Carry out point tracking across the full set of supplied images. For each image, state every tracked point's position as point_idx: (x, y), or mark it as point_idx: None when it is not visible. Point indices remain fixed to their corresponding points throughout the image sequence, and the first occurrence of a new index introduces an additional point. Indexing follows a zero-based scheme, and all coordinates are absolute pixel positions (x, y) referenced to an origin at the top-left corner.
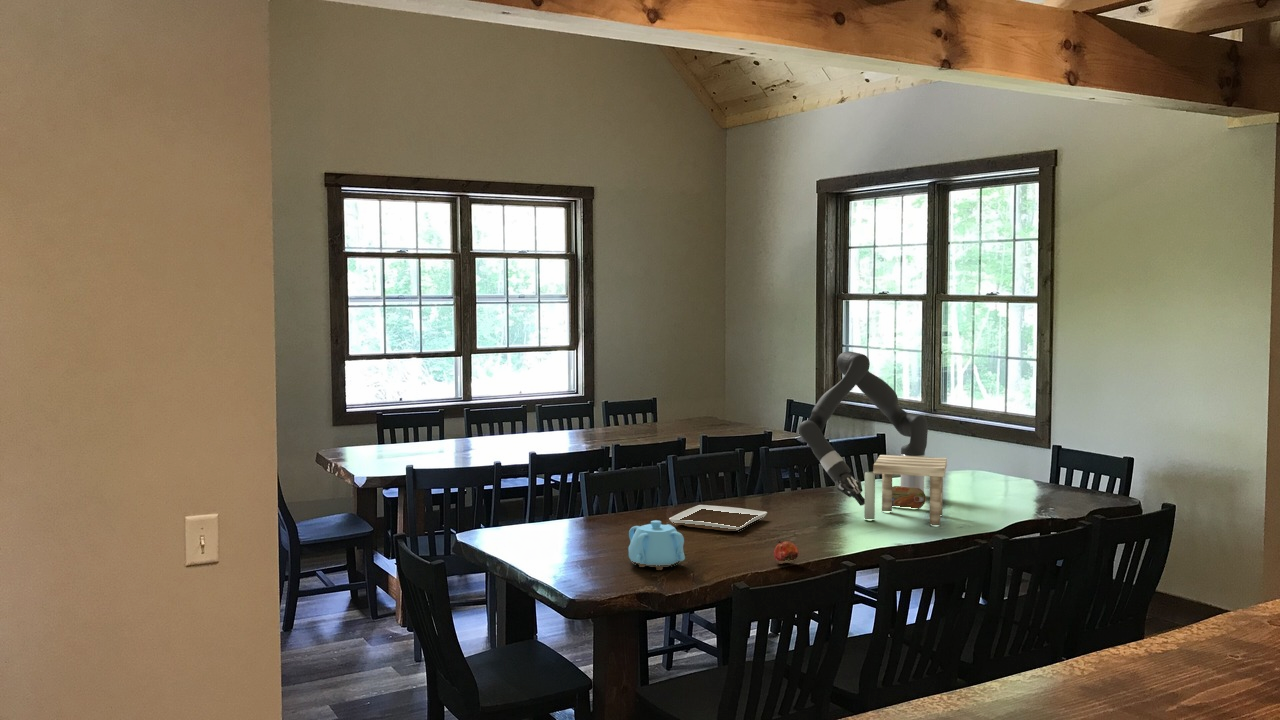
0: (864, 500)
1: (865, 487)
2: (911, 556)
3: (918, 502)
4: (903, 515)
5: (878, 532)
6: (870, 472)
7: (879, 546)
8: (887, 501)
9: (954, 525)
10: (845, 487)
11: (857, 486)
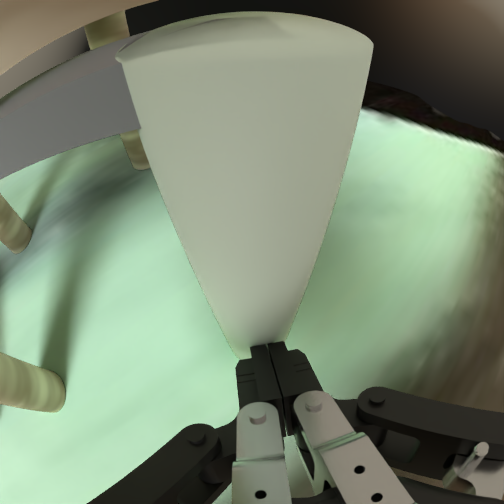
0: (265, 350)
1: (320, 247)
2: (404, 91)
3: None
4: (56, 310)
5: (369, 190)
6: (176, 39)
7: (430, 133)
8: (24, 369)
9: (111, 148)
10: (482, 413)
11: (253, 463)
